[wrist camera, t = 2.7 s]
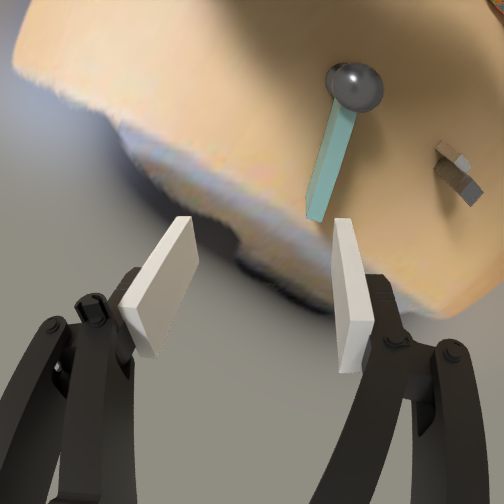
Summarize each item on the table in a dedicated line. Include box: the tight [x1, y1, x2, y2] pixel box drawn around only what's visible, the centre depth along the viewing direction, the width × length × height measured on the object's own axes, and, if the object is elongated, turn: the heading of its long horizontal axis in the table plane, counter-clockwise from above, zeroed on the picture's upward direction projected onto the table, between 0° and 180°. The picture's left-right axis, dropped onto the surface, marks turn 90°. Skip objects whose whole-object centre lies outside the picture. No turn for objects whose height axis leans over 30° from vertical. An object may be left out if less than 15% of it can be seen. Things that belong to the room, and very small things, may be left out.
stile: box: [433, 140, 483, 207], centre depth 26 cm, size 3×3×7 cm
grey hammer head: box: [325, 63, 384, 113], centre depth 24 cm, size 4×4×7 cm
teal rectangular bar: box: [306, 74, 357, 223], centre depth 27 cm, size 14×3×5 cm, turn 168°
